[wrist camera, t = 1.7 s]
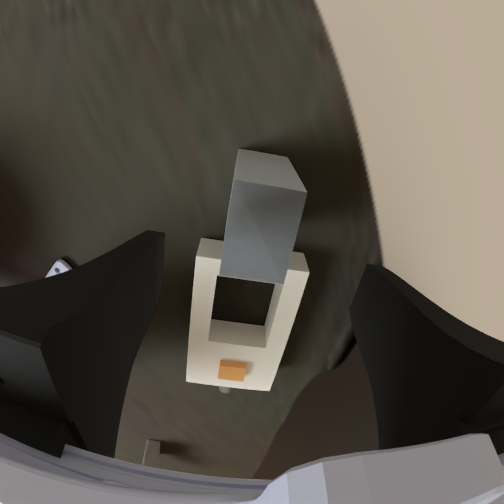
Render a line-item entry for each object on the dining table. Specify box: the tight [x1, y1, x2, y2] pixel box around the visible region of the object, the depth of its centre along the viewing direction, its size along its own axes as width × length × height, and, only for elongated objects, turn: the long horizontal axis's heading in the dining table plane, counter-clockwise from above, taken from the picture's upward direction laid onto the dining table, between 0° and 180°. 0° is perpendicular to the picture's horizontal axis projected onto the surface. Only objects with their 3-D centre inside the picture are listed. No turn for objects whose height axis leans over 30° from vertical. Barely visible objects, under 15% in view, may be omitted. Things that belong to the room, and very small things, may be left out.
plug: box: [219, 149, 308, 284], centre depth 17 cm, size 4×3×7 cm, turn 170°
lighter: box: [142, 439, 160, 468], centre depth 33 cm, size 7×2×8 cm, turn 167°
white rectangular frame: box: [186, 238, 310, 393], centre depth 24 cm, size 14×7×3 cm, turn 170°
